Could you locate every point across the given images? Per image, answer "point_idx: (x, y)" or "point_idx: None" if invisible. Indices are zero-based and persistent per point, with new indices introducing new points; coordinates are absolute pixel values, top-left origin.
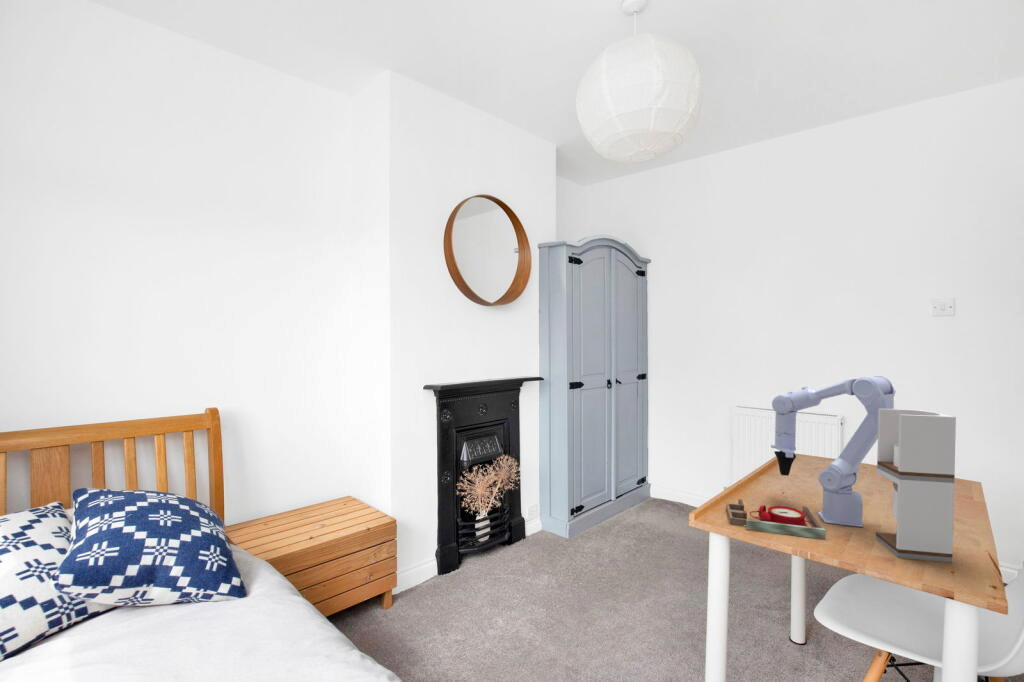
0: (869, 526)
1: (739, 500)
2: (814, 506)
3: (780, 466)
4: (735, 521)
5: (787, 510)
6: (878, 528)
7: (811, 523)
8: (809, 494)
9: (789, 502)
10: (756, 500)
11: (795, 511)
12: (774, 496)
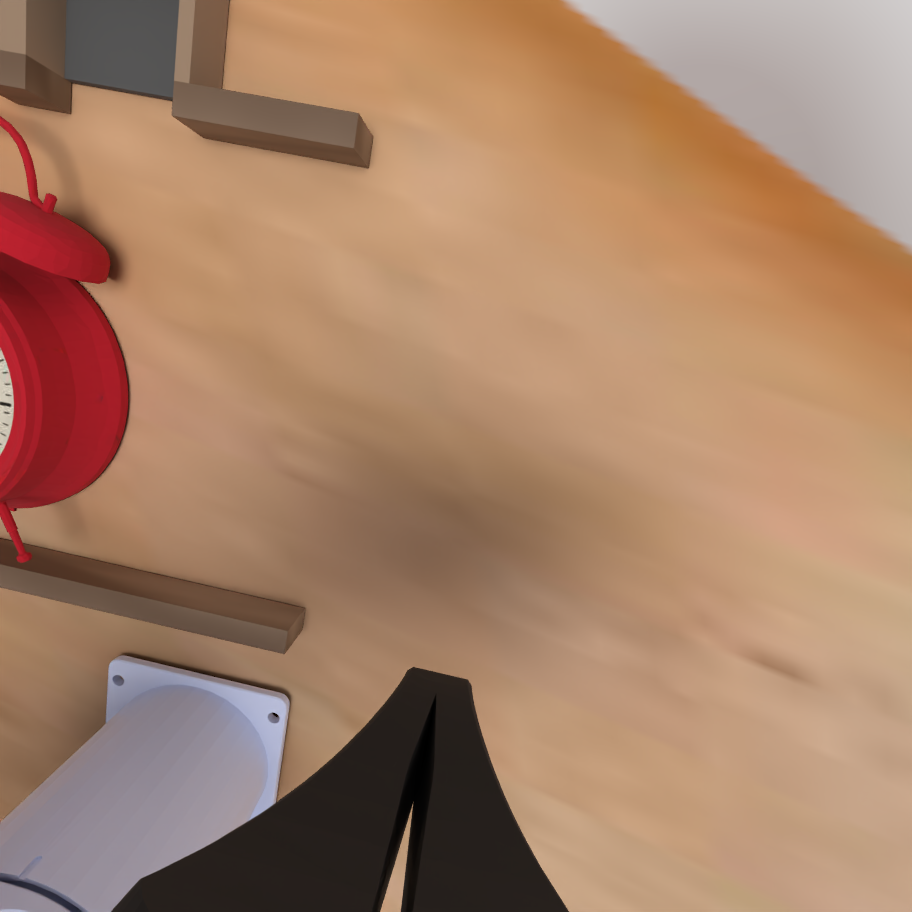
0: None
1: (316, 112)
2: None
3: (350, 742)
4: None
5: None
6: None
7: (51, 555)
8: (744, 845)
9: (516, 610)
10: (528, 354)
11: (15, 488)
12: (663, 554)
